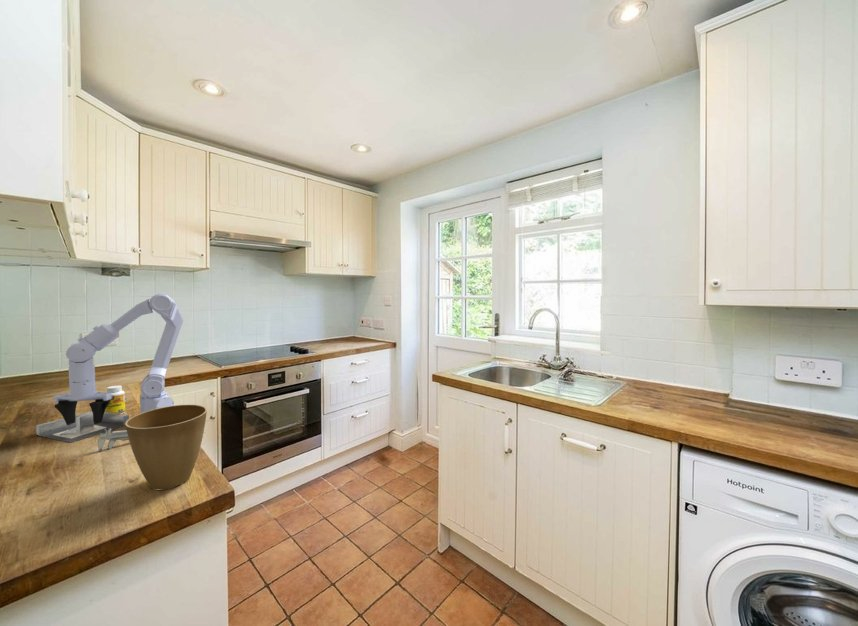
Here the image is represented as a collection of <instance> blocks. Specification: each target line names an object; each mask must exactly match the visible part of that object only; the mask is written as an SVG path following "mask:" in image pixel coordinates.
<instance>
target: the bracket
mask: <svg viewBox="0 0 858 626" xmlns="http://www.w3.org/2000/svg"><path fill="white" fill-rule="evenodd" d="M87 412H88V413H86V412H85V413H86V414H83V415H81V416H78V417H76V428H72V429H70V430H68V431H65V432H63V433H61V434H60V436H66V435H81V434H83V433H85V432H88V431H90V430H92V429H94V421H93V413H92V412H90V411H87Z"/></svg>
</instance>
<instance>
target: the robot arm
mask: <svg viewBox="0 0 858 626" xmlns="http://www.w3.org/2000/svg"><path fill="white" fill-rule="evenodd" d="M153 311H154V312H155V313H156V314H159V315H160V317H161V318H162V319H163V320H164V321H165V326H164V329H163V332H162V334H161V338H160V340H159V342H158V343H159V344H158V346H157V349H156V351H155V355H154V358H153V360H152V363H151V366H150V369H149V371H148V373H147V375H145V377H144V378H143V379H142V382H141V385H140V392H141V394H140V395H139V407H140V410H139V411H140V413H143V412H146V411H150V410H153V409H157V408H162V407H168V406H175V402H174V399H173V398H172V397H170V396H168V394H167V390H165V388H166V386H165V385H166V384H165V383H166V381H165V380H166V379H165V377H166V373H167V370H168V366H169V364H170V361H171V358H172V355H173V353H174V349H175V346H176V344H177V341H178V338H179V335H180V332H181V329H182V326H183V322H184V318H183V316H182V314H181V312H180V309H179V307H178V304H177V302H176V301H175V300H174V299H173V298H172V297H170V296H169V295H167V294H165V293H157V294H154V295H153V296H151V298H147V299H146V300H144V301H141V302H139V303H138V304H136V305H135V306H133V307H132V308H130V309H129V310H128V311H126V312H125V313H124V314H122V315H121V316H119V317H118V318H117V319H116V320H114V321H113V322H112V323H110V324H109V323H108V324H106V323H105V324H101V325H96V326H94V327H93V328H92V331H90V332H89V333H88V334H87V335H85V336H84V337H79V338H78V339H77V341H78V342H77V343H73V344H71V345H70V346H69V347H67V350H66V352H65V356H66V358H67V359H68V383H69V384H68V386H69V393H64V394H57V395H54V396H53V401H54V402H53V403H55V404H54V408H55V409H56V410H57V411H58V412H59V413H60V415H61V416H62V417H63V418H64V420H65V422H66V424H67V425H70V424H73V423H75V415H76V411H77V410H76V409H77V404H78V402H81V401H82V402H87V401H88V402H89V401H92V402H89V403H88V406H89V407H90V409H91V411H92V413H93V421H94V424H98V423H100V422H102V419H103V415H104V412H105V410H106V408H107V406H108V404H109V403H110V401H111V399H112V396H111V393H107V392H99V391H97V389H96V387H97V386H96V385H97V384H96V370H95V369H96V368H95V367H96V365H95V362H94V361H95V359H94V356H95V354H96V352H99V351H101V350H103V349H104V348H106V347H107V346H108V345H110V344H112V342H114V341H115V340H116V339H118V338H119V337H120V331H121V330H123V329H124V328H126V327H127V326H129V325H130V324H131V323H133V322H134V321H136V320H137V319H138V318H140V317H142V316H145V315H149V314H153ZM140 413H139V414H140ZM63 418H62V419H63Z"/></svg>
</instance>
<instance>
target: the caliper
mask: <svg viewBox="0 0 858 626" xmlns="http://www.w3.org/2000/svg"><path fill="white" fill-rule="evenodd" d="M108 440H109V441H108ZM118 440H119V441H123V442H124V441H129V438H128V434H127V430H126V429H125V430H116V431H115V430H113V431H112V430H111V428H110V429H109V430H108V431H106V429H104V432H103V433H100V434H99V436H98V439H97V443H98V444H97V447H98V452H101V451H102V452H103V448H104V445H105V442H106V441H108V443H107V450H108V451H110V450H111V449H112V448H113V446H114V445H115V443H116V442H117V441H118Z"/></svg>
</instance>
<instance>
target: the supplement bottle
mask: <svg viewBox="0 0 858 626" xmlns="http://www.w3.org/2000/svg"><path fill="white" fill-rule="evenodd" d="M122 388H123V387H122V385H111V386H108V387H106V393H111V396H112V399H111V401H110V403H109V404H108V406H107V408H106V410H105V411H106V412H113V413H119V414H123V413H124V414H125V413H126V392H125V391H124V390H123V389H122Z"/></svg>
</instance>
